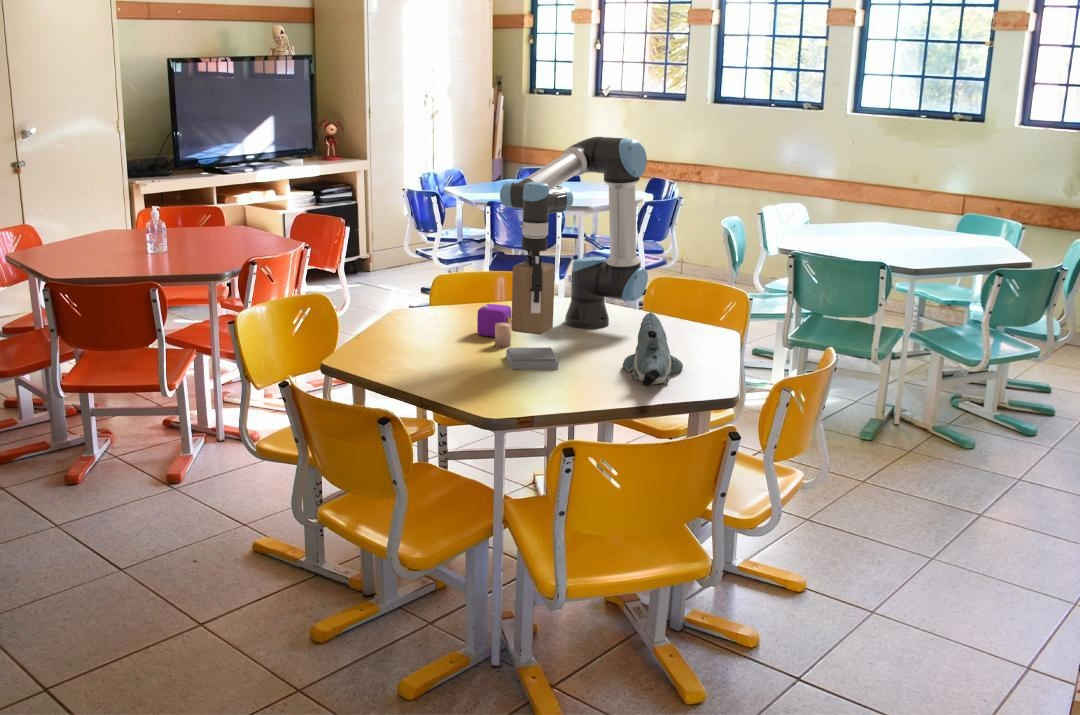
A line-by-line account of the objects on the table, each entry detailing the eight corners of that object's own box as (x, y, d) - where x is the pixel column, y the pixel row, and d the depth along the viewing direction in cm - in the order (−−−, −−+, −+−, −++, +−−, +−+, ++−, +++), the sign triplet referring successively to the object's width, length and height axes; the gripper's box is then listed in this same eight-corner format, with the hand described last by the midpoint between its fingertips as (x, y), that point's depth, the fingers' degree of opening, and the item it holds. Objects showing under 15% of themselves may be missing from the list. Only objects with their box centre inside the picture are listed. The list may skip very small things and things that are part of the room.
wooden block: (523, 324, 320) (525, 259, 314) (553, 328, 316) (556, 263, 311) (509, 331, 311) (511, 265, 305) (541, 336, 307) (543, 268, 302)
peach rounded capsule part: (509, 343, 337) (510, 322, 335) (511, 347, 332) (511, 326, 330) (494, 343, 336) (494, 322, 335) (495, 347, 332) (495, 326, 330)
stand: (551, 356, 324) (551, 347, 323) (557, 369, 310) (558, 359, 309) (506, 356, 322) (506, 347, 321) (510, 369, 309) (510, 359, 308)
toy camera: (514, 329, 356) (514, 300, 353) (508, 339, 342) (509, 309, 340) (482, 327, 357) (482, 298, 354) (476, 337, 343) (476, 307, 341)
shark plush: (685, 366, 317) (689, 314, 313) (662, 404, 281) (665, 346, 277) (628, 360, 322) (631, 309, 318) (598, 396, 286) (600, 339, 282)
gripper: (517, 229, 317) (516, 298, 323) (526, 243, 293) (524, 317, 299) (542, 229, 318) (540, 298, 324) (553, 243, 294) (551, 317, 300)
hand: (532, 307), depth 311 cm, fingers closed on wooden block, 13 cm apart
